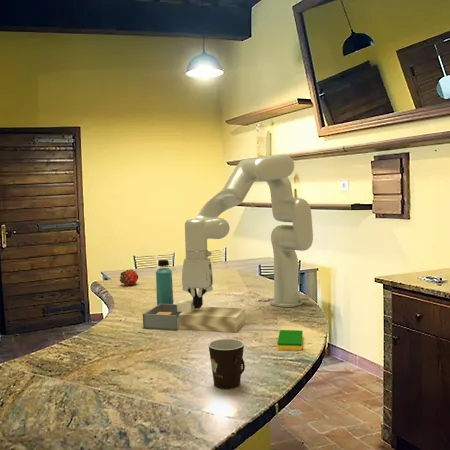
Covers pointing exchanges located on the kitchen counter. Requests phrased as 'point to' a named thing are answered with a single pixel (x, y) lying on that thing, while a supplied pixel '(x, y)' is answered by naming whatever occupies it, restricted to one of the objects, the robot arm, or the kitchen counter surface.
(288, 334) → the dish sponge
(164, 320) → the tray
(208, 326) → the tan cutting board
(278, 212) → the robot arm
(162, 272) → the beverage bottle
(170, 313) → the orange square block
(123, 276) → the dragon fruit
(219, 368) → the coffee mug
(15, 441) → the kitchen counter surface
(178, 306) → the cream square block
